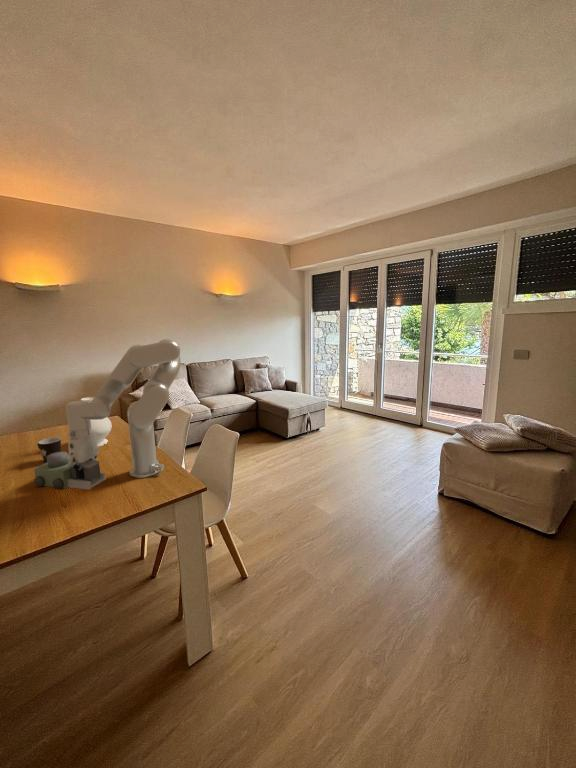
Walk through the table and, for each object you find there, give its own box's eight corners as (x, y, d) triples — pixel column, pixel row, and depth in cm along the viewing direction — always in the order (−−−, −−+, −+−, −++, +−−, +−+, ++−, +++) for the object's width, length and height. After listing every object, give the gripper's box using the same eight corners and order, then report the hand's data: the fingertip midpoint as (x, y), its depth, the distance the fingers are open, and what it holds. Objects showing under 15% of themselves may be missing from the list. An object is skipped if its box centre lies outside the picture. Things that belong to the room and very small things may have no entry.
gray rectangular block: (100, 474, 135) (98, 460, 134) (90, 480, 130) (89, 466, 129) (82, 472, 137) (80, 459, 135) (71, 478, 132) (69, 464, 131)
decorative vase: (96, 451, 166) (90, 403, 162) (66, 448, 170) (60, 401, 165) (120, 438, 183) (116, 395, 179) (93, 436, 187) (88, 394, 182)
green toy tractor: (109, 476, 139) (107, 452, 137) (84, 492, 126) (80, 465, 124) (62, 471, 144) (59, 447, 142) (33, 486, 131) (29, 460, 129)
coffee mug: (66, 460, 156) (63, 440, 154) (44, 466, 149) (40, 445, 148) (59, 453, 163) (56, 434, 161) (37, 459, 157) (34, 439, 155)
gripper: (70, 440, 121) (76, 486, 124) (104, 426, 137) (109, 466, 140) (53, 439, 122) (60, 484, 126) (89, 425, 139) (94, 465, 142)
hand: (86, 474), depth 133 cm, fingers closed on gray rectangular block, 5 cm apart
